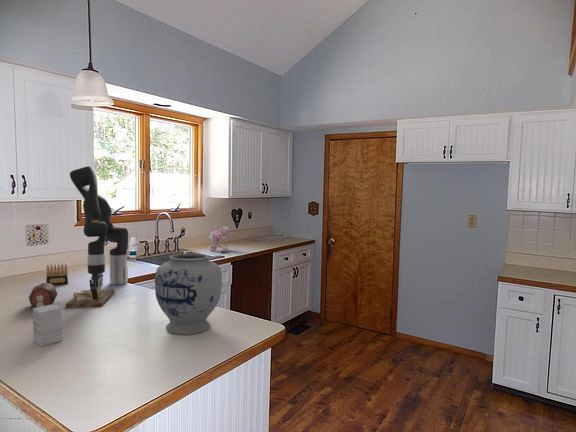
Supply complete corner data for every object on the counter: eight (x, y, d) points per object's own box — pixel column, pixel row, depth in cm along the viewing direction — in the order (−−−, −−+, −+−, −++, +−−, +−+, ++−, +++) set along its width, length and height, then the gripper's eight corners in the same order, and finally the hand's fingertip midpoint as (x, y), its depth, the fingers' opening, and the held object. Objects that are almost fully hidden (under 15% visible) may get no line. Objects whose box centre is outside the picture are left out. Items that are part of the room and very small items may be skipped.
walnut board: (114, 293, 210) (114, 289, 210) (102, 306, 186) (102, 302, 186) (82, 294, 207) (82, 290, 207) (65, 307, 183) (65, 303, 183)
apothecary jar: (154, 319, 171) (154, 251, 168) (215, 314, 180) (215, 249, 178) (156, 342, 146) (156, 263, 143) (227, 335, 155) (228, 260, 153)
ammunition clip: (46, 285, 222) (45, 264, 221) (46, 284, 223) (46, 264, 222) (67, 284, 226) (67, 263, 225) (68, 283, 228) (67, 263, 227)
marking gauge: (102, 297, 194) (102, 285, 194) (99, 300, 189) (99, 288, 189) (75, 298, 192) (75, 286, 191) (72, 301, 187) (72, 288, 187)
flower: (228, 247, 366) (216, 223, 360) (240, 248, 347) (228, 223, 341) (210, 258, 355) (198, 234, 349) (221, 259, 337) (209, 234, 331)
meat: (54, 311, 178) (54, 289, 177) (24, 314, 174) (23, 292, 173) (60, 299, 196) (59, 279, 195) (33, 301, 192) (32, 281, 191)
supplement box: (54, 336, 150) (54, 303, 149) (62, 341, 145) (62, 307, 144) (32, 341, 144) (32, 307, 143) (40, 347, 139) (39, 312, 139)
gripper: (100, 265, 184) (100, 301, 185) (108, 260, 198) (108, 293, 199) (83, 266, 182) (83, 302, 184) (92, 260, 196) (92, 293, 198)
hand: (96, 297), depth 191 cm, fingers closed on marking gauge, 5 cm apart
